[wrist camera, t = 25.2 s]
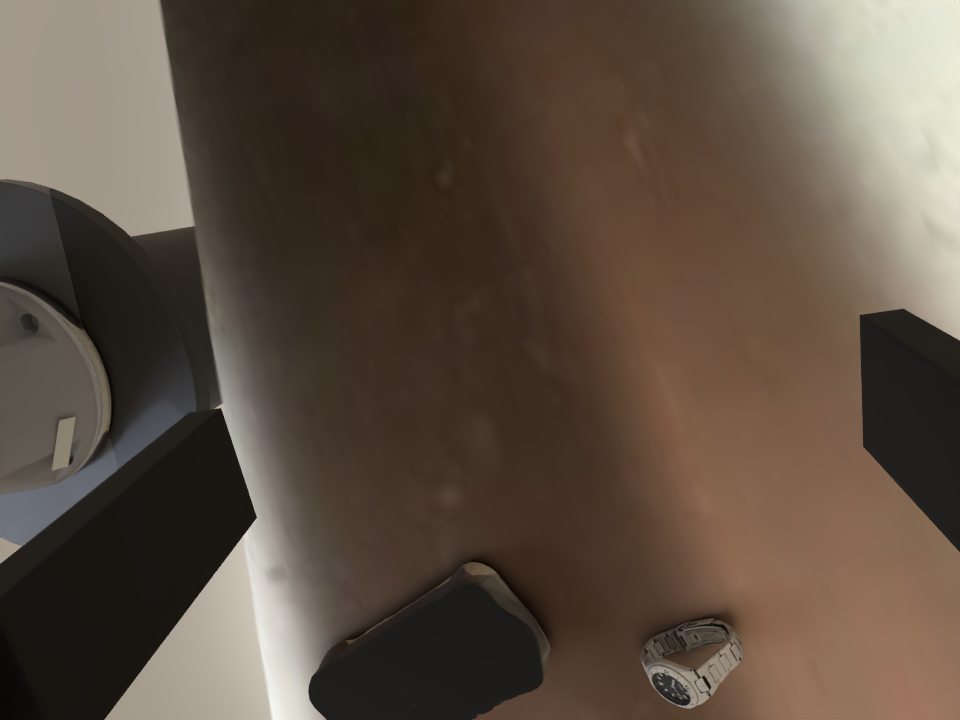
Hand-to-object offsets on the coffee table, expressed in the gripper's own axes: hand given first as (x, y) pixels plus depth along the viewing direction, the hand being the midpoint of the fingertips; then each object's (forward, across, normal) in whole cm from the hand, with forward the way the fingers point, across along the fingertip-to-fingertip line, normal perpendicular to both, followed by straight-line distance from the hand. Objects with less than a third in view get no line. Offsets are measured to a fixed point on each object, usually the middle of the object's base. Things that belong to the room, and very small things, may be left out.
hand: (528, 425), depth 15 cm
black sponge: (+26, -12, -27) cm, 40 cm away
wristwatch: (+25, +5, -26) cm, 37 cm away
